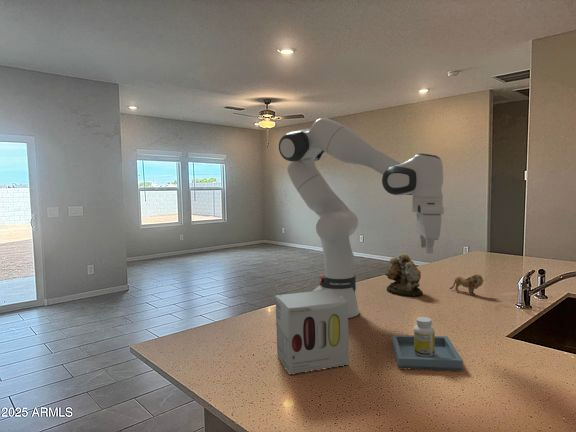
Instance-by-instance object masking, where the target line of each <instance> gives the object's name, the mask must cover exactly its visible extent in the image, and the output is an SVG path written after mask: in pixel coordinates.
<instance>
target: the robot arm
mask: <svg viewBox="0 0 576 432" xmlns="http://www.w3.org/2000/svg"><path fill="white" fill-rule="evenodd" d="M278 151H279V154H280V155H281V157H282V158H283V159H284V160H285V161H288V162H289V164H288V165H287V171H286V172H287V174H288V176H289V179H290V180H291V183H292V185H293V186H294V188H295V189H296V191H297V192H298V194H299V195H300V197H301V199H302V200H303V201H304V203H305V204H306V206H307V207H308V208H309V210H311V211H312V212H314V213H315V214H316V215H317V216H318V217H319V219H318V220H317V222H316V225H315V229H316V230H315V231H316V234H317V235H318V237H319V239H320V243H321V247H322V251H323V258H324V262H323V263H324V274H320V275H319V277H318V279H319V285H318V286H317V287H316V288H315V289H313V290H312V291H318V290H327V289H330V290H331V291H333V292H334V293H336V294H337V295H339V296H340V297H342V298H343V299H345V300H346V301H347V302H348V319H350V318H353V317H356V316H359V314H360V309H359V305H358V301H357V294H356V291H357V279H356V278H357V277H356V275H355V255H354V252H353V251H352V246H351V241H350V237H351V236H352V235H353V234H354V233H355V232H356V230H357V228H358V226H359V220H358V216H357V215H356V213H355V212H353V211H352V210H351V209H350V208H349V207H348V205H346V204H345V202H344V201H343V200H342V199H341V198H340V197H339V196H338V195H337V194H336V193H335V192H334V191H333V189H332V187H331V186H330V185H329V184H328V182H327V180H326V179H325V178H324V176H323V175H322V174H321V172H320V171H319V169H318V168H317V166H316V163H315V162H316V161H320V159H321V158H322V156H323V154H324V152H325V153H326V154H328V155H330V156H331V157H332V158H334V159H336V160H338V161H341V162H344V163H347V164H354V165H360V166H365V167H367V168H370V169H371V170H374V171H375V172H377V173H378V174H380V175H382V176H381V185H382V187H383V188H384V190H385V191H386V193H388V194H390V195H393V196H406V195H407V196H412V210H411V212H413V213H416V215H415V216H416V222H415V223H416V224H415V225H416V226H415V229H416V232H417V233H419V240H420V247H421V248H423V249H425V252H426V253H427V254H433V253H434V245H435V241H438V240H439V239H440V237H441V228H442V215H444V212H445V208H444V204H443V203H444V202H443V201H444V196H443V191H442V188H443V184H444V168H443V162H442V159H441V158H440V157H439V156H437V155H435V154H429V153H416V154H415V155H414V156H413V157H411V158H409V159H408V160H406V161H405V162H399V161H396V160H394V159H392V158H391V157H390V156H388V155H386V154H384V153H382V152H380V151H379V150H377V149H376V148H375V147H373V145H371V144H369V143H368V142H367V141H366V140H364V139H363V137H361V136H359V135H358V134H357V133H356V132H354V131H353V130H352V129H350V128H348V127H347V126H345V125H344V124H341V123H340V122H338V121H335V120H332V119H330V118H327V117H321V118H318V119H316V120H315V121H314V122H313V123H312V125H311V127H310V128H302V129H299V130H295V131H290V132H287V133H286V134H284V135H283V136H281V138H280V140H279V142H278Z"/></svg>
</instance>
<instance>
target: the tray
mask: <svg viewBox="0 0 576 432" xmlns="http://www.w3.org/2000/svg"><path fill="white" fill-rule="evenodd" d="M391 345H392V350H393V352H394V353H395V354H394V353H393V354H394V356H395V361H396V365H397V364H398V365H397V368H398V369H399V368H407V369H406V370H417V369H428V370H427V371H444V370H452V371H451V372H453V370H454V372H463V371H464V361H463V359H462V356H461V355H460V353H459V352H458V351H457V348H456V347H455V346H454V344H453V343H452V342H451V339H450V338H449V337H448V336H447V335H435V354H434V355H433V356H431V357H422V356H419V355H417V354H416V353H415V351H414V334H413V335H408V334H391ZM408 368H410V369H408ZM430 369H432V370H430Z"/></svg>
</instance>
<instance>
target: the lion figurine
mask: <svg viewBox="0 0 576 432" xmlns="http://www.w3.org/2000/svg"><path fill="white" fill-rule="evenodd" d="M484 281H485V280H484V278H483V276H482V275H480V274H474V275H472V276H469V277H468V278H464V277H463V276H460V275H459V276H456V277H455V278H454V283H453V285H452V286H451V287H449V290H452V289H455V292H456V293H457V294H459V293H460V291H459V287H460V286H462V287H463V288H467V289H468V295H469V297H472V296H475V295H476V293H475V292H474V291H475V290H476V289H479V287H481V286H482V285H483V284H484Z"/></svg>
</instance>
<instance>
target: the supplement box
mask: <svg viewBox="0 0 576 432" xmlns="http://www.w3.org/2000/svg"><path fill="white" fill-rule="evenodd" d="M275 319H276V320H275V321H276V322H275V324H276V347H277V348H276V350H277V351H276V352H277V357H278V359H279V360H281V361H280V362H281V363H283V364H282V366H283V365H284V366H285V368H286V369H285V368H284V369H285V371H286V370H287V371H288V373H290V374H293V373H299V372H305V371H311V370H317V369H323V368H330V367H337V366H343V367H345V366H344V365H348V364H349V363H350V361H349V360H350V359H349V358H350V357H349V355H350V353H349V344H350V343H349V342H350V341H349V318H348V302H347V301H346V300H345V299H343V298H342V297H340V296H339V295H337V294H336V293H334V292H333V291H331V290H330V289H327V290H318V291H313V290H311V291H301V292H295V293H294V292H293V293H285V294H276V295H275ZM349 365H350V364H349ZM284 366H283V367H284ZM337 368H338V367H337ZM330 369H331V368H330ZM287 371H286V372H287ZM311 372H312V371H311ZM288 373H287V374H288ZM305 373H306V372H305ZM299 374H300V373H299ZM293 375H294V374H293Z"/></svg>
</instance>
